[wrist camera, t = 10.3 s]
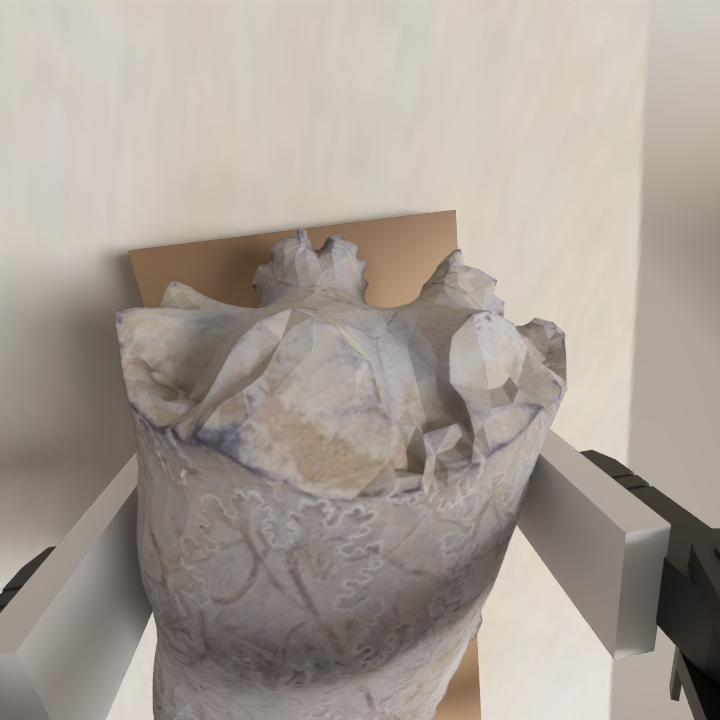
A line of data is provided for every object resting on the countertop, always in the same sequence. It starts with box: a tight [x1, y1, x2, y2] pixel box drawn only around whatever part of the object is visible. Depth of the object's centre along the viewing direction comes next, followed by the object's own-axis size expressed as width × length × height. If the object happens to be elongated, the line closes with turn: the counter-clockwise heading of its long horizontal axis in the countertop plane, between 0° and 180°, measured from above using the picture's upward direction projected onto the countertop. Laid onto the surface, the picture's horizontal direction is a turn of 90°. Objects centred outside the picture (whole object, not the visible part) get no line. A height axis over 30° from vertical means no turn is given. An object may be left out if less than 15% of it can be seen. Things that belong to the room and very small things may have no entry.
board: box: [128, 210, 481, 720], centre depth 16 cm, size 24×10×2 cm, turn 7°
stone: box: [115, 229, 567, 720], centre depth 9 cm, size 8×12×7 cm, turn 174°
